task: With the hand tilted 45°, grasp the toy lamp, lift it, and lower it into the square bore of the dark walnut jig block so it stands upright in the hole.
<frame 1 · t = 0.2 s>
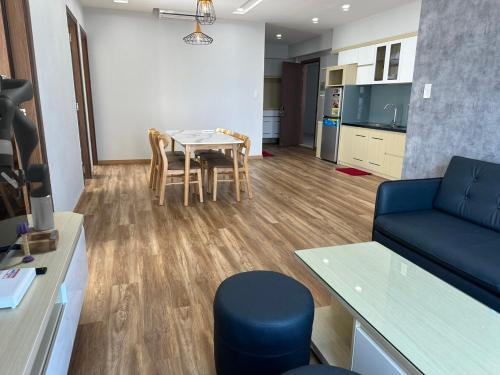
hand: (2, 200, 122), 31 cm above the table, tool tilted 20°, fingers open, 8 cm apart
toy lamp: (27, 261, 145), on the table
walnut jig: (41, 246, 158), on the table
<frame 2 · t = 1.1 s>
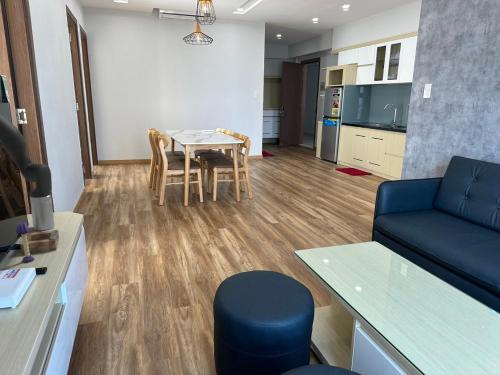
nothing on the table moved.
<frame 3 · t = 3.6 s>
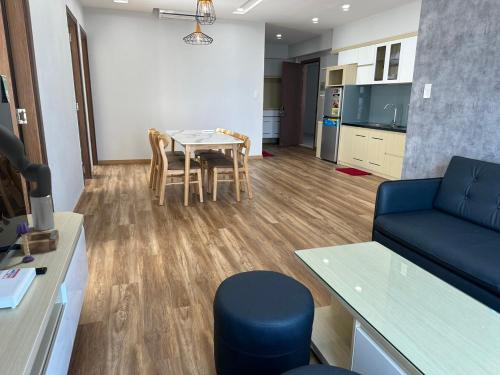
hand: (6, 227, 139), 15 cm above the table, tool tilted 45°, fingers open, 8 cm apart
nothing on the table moved.
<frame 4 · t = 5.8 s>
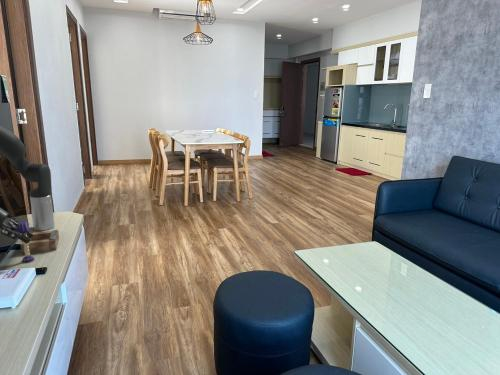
hand: (30, 239, 143), 9 cm above the table, tool tilted 45°, fingers closed on toy lamp, 4 cm apart
toy lamp: (27, 261, 144), on the table, touching gripper
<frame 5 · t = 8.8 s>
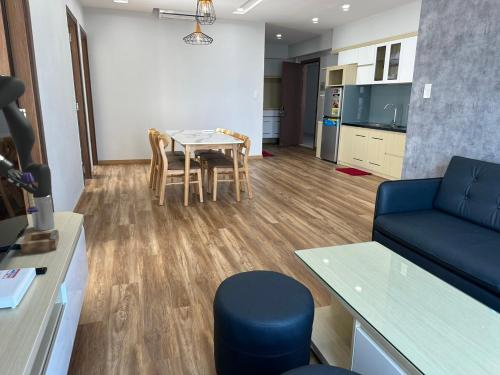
hand: (34, 190, 148), 27 cm above the table, tool tilted 45°, fingers closed on toy lamp, 4 cm apart
toy lamp: (32, 211, 149), point 18 cm above the table, touching gripper
when the fingers open (10 cm above the table, at t = 12.0 s): toy lamp drops 1 cm, resting in walnut jig.
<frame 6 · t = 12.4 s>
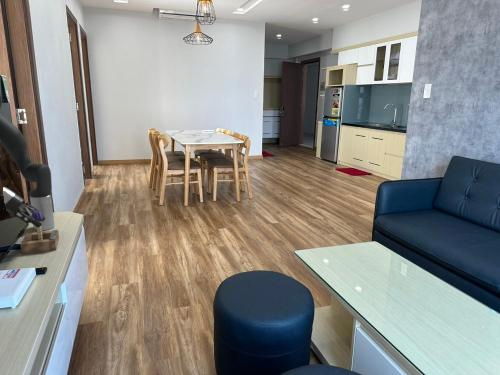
hand: (42, 222, 156), 11 cm above the table, tool tilted 45°, fingers open, 7 cm apart
toy lamp: (40, 246, 158), resting in walnut jig
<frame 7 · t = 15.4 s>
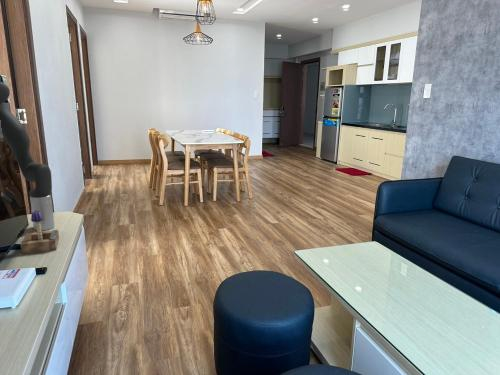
hand: (12, 199, 149), 23 cm above the table, tool tilted 45°, fingers open, 8 cm apart
nothing on the table moved.
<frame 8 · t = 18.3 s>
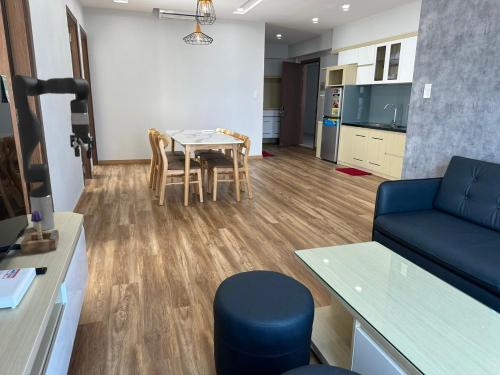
hand: (83, 157, 166), 38 cm above the table, tool pointing down, fingers open, 8 cm apart
nothing on the table moved.
at the end: toy lamp 0.3 cm off-centre on the walnut jig, point 0.0 cm above the walnut jig's base; toy lamp tilted 0°; the gripper is holding nothing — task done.
